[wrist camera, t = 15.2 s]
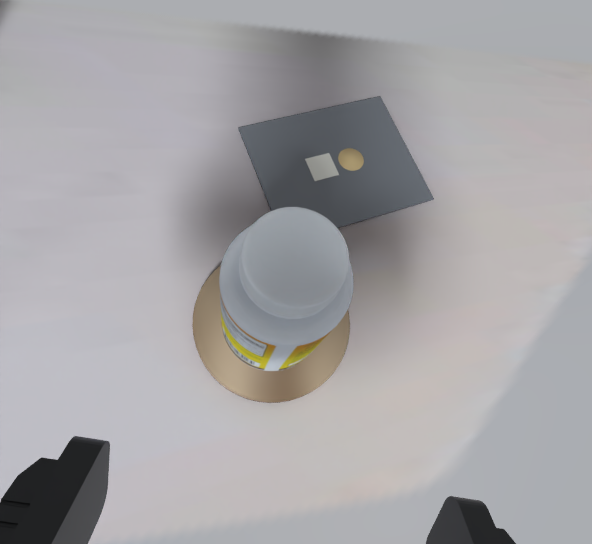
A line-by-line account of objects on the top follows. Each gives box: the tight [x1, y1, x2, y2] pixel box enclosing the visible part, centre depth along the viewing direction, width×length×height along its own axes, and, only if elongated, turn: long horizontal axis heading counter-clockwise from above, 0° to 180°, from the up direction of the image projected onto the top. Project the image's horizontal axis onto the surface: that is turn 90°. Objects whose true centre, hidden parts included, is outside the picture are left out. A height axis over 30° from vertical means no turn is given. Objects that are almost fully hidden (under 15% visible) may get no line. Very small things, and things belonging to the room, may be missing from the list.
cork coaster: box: [193, 265, 350, 403], centre depth 26 cm, size 9×9×1 cm
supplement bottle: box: [219, 207, 353, 371], centre depth 21 cm, size 6×6×10 cm
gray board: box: [239, 96, 434, 228], centre depth 31 cm, size 11×9×1 cm
